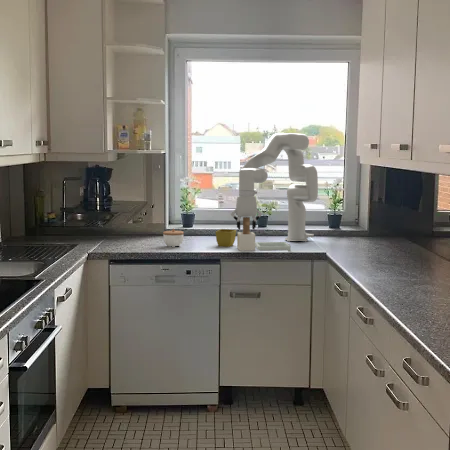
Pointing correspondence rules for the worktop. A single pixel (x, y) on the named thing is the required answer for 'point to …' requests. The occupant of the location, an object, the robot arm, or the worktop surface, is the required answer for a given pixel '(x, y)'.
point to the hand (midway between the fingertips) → (246, 229)
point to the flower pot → (225, 237)
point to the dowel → (246, 225)
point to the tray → (272, 246)
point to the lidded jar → (173, 238)
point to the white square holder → (245, 241)
